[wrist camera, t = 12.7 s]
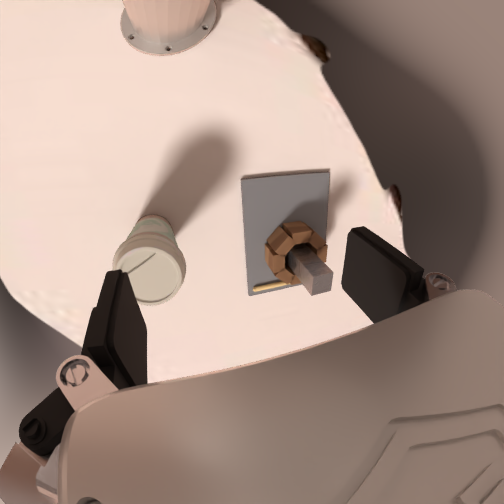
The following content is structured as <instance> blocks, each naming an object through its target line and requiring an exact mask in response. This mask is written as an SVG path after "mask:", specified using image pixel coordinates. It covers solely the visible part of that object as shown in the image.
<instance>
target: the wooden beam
mask: <svg viewBox="0 0 504 504" xmlns="http://www.w3.org/2000/svg"><path fill="white" fill-rule="evenodd" d="M285 262H286V263H287V264H288V266H289V267H290V268H291V270H292V271H293V272H294V273H295V275H296V276H297V277H298V279H299V280H300V281H301V283H302V284H303V285H304V286H305V288H306V289H307V290H308V292H309V293H310V294H311V296H312V295H316V294H320V293H324V292H327V291H331V286H332V278H333V271H332V270H331V269H330V268H329V267H328V266H327V265H326V264H325V263H324V262H323V261H322V260H321V259H320V258H319V257H318V256H317V255H316V254H315V253H314V252H313V251H312V250H311V249H310V248H309V247H308V246H307V245H306V244H305V243H301V244H295V245H294V246H293V247H292V248H291V250H290V251H289V252H288V253H287V254H286V255H285Z"/></svg>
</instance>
